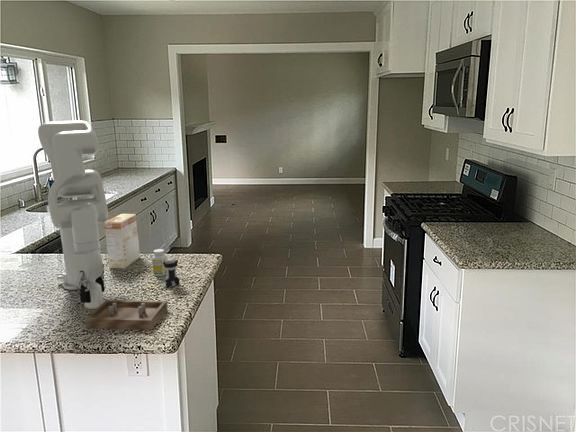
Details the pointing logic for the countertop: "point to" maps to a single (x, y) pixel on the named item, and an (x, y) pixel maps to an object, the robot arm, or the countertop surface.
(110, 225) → the coffeecake box
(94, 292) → the eye dropper bottle
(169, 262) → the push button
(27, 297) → the countertop surface
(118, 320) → the pin tray
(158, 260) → the supplement bottle
